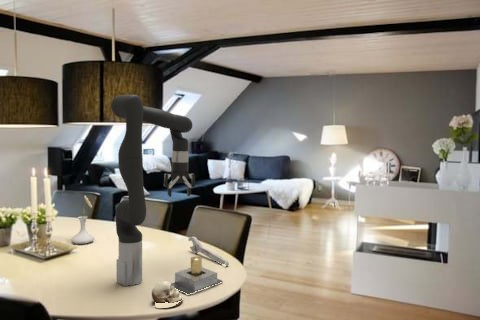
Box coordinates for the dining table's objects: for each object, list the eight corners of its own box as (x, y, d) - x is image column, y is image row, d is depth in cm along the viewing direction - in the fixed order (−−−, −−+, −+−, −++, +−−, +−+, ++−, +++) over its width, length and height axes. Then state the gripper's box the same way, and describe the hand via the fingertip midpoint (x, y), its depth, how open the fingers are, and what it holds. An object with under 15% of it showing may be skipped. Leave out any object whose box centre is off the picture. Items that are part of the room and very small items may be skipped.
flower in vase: (89, 245, 211) (89, 198, 209) (67, 245, 211) (67, 197, 209) (98, 238, 224) (98, 194, 222) (78, 238, 224) (77, 193, 222)
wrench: (225, 273, 185) (187, 250, 206) (228, 272, 186) (190, 249, 207) (226, 257, 183) (188, 235, 205) (229, 256, 184) (191, 234, 206)
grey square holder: (188, 296, 153) (188, 283, 152) (168, 286, 161) (169, 274, 160) (222, 283, 166) (222, 271, 165) (202, 275, 174) (203, 263, 173)
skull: (183, 290, 155) (183, 278, 148) (182, 317, 148) (182, 306, 141) (151, 290, 153) (150, 278, 146) (148, 318, 146) (147, 306, 139)
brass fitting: (195, 285, 160) (195, 260, 159) (188, 282, 163) (188, 258, 162) (203, 282, 163) (204, 258, 163) (196, 279, 166) (196, 255, 165)
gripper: (166, 161, 178) (165, 198, 179) (197, 161, 184) (196, 197, 185) (162, 160, 185) (162, 195, 186) (193, 160, 191) (192, 194, 192)
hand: (179, 196), depth 185 cm, fingers open, 8 cm apart
